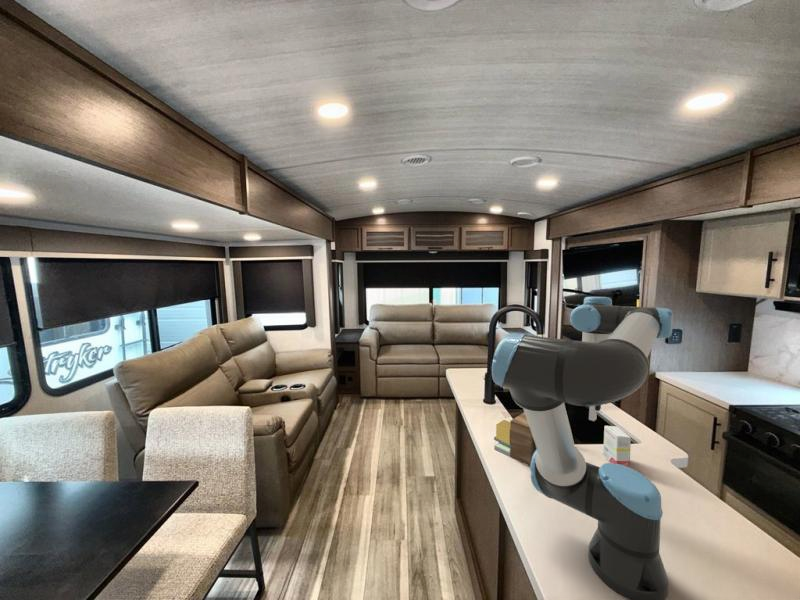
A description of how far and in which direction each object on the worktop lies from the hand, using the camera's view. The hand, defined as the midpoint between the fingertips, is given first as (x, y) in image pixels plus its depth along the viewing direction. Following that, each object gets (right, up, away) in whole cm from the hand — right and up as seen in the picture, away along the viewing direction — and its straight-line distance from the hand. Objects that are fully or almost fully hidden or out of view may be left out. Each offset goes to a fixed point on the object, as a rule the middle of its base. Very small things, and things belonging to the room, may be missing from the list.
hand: (592, 419), depth 98 cm
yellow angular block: (-14, -20, +24) cm, 34 cm away
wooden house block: (-12, -23, +22) cm, 33 cm away
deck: (-12, -23, +22) cm, 34 cm away
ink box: (+19, -23, +17) cm, 34 cm away
